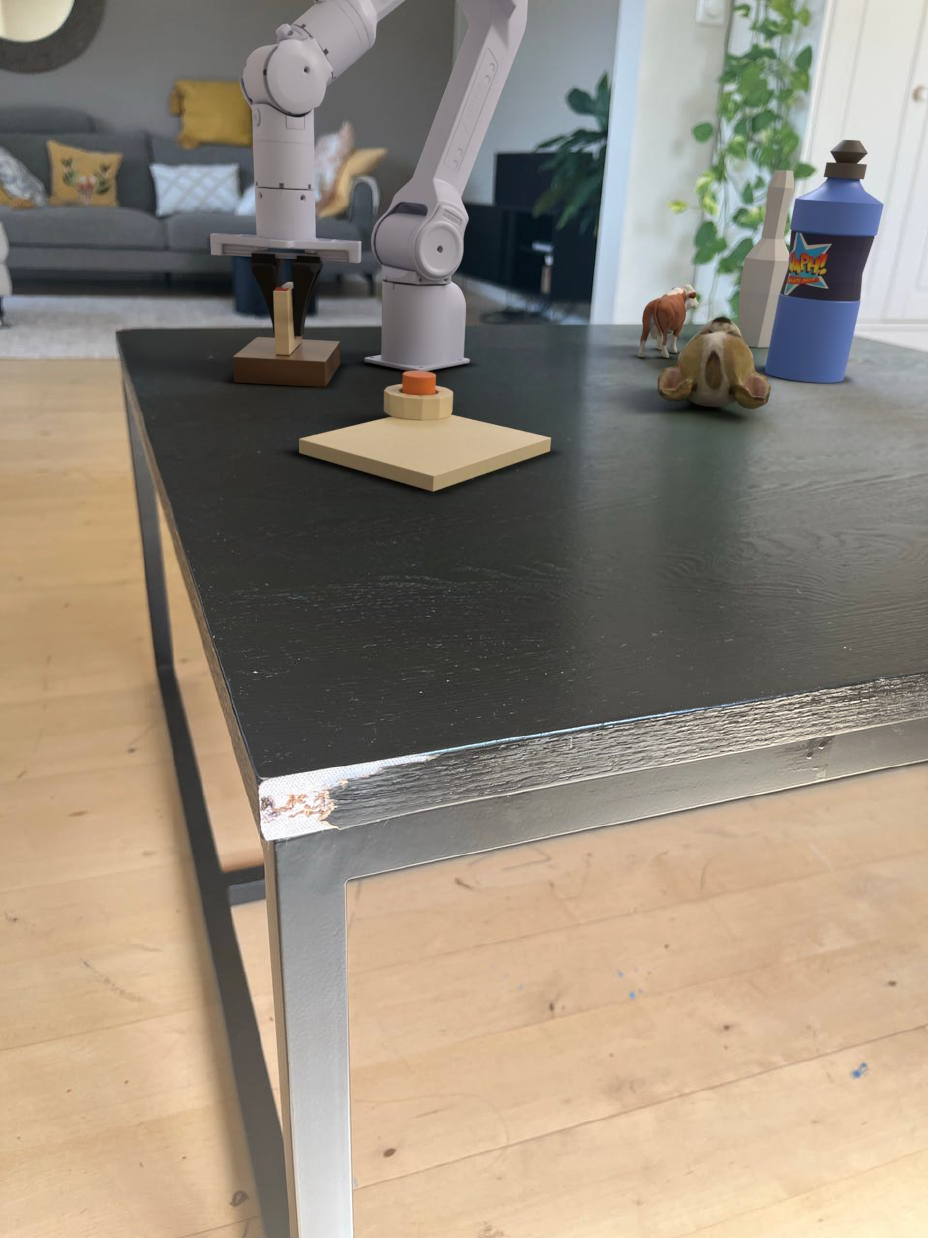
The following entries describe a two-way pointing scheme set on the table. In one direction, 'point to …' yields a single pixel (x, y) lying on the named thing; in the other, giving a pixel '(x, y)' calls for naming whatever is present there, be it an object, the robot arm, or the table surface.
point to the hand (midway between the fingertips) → (288, 334)
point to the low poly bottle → (766, 266)
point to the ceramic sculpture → (715, 370)
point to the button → (418, 383)
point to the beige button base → (424, 443)
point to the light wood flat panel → (284, 320)
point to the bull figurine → (667, 318)
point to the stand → (287, 363)
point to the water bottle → (825, 273)
